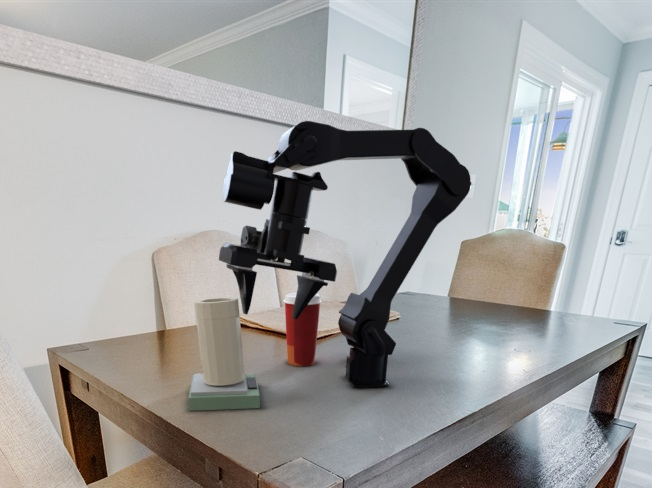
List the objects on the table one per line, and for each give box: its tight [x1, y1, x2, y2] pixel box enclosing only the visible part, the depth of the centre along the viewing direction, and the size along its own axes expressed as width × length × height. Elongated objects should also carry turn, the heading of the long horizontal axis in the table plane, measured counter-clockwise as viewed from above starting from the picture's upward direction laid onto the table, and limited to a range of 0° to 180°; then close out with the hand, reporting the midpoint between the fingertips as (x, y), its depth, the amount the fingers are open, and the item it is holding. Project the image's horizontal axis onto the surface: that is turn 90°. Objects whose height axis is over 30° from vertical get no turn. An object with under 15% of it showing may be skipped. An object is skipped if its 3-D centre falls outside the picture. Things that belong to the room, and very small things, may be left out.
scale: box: [187, 372, 261, 412], centre depth 77 cm, size 11×11×3 cm
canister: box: [193, 296, 246, 386], centre depth 74 cm, size 7×7×13 cm
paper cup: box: [282, 292, 323, 367], centre depth 94 cm, size 8×8×14 cm
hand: (270, 316), depth 76 cm, fingers open, 9 cm apart
